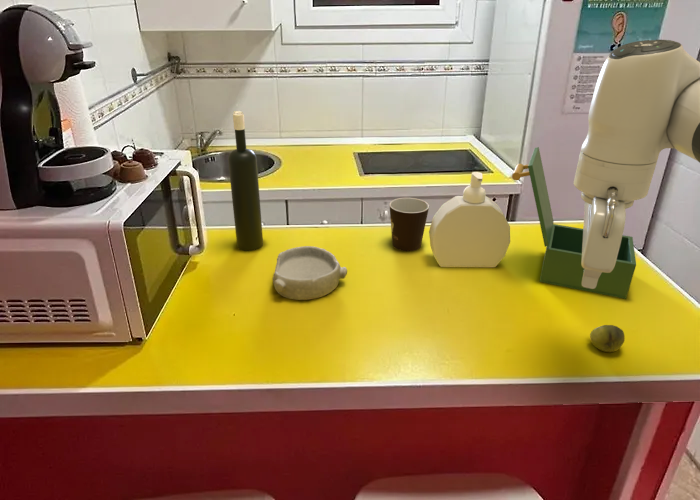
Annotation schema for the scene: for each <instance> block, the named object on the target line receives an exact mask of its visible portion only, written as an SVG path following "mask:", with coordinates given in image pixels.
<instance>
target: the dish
mask: <svg viewBox="0 0 700 500" xmlns="http://www.w3.org/2000/svg"><path fill="white" fill-rule="evenodd" d="M347 275H348V269H347V267H346V266H343V267H342V266H341V265H340V263H339V261H338V259H337V258H336V256H335V255H334V254H333V253H332V252H331V251H329V250H326V249H325V248H320V247H318V246H314V245H313V246H311V245H305V246H296V247H292V248H289V249H286V250H284V251H281V252H280V253H278V255H277V258H276V264H275V268H274V272H273V276H272V283H273V287H274V289H275V291H276V292H277V293H278V295H280V296H282V297H283V298H286V299H289V300H296V301H298V300H299V301H308V300H315V299H319V298H321V297H324V296H326V295H329V294H330V293H332V292H333V291H334V290H335V289H336V288H337V287H338V285H339V283H340V280H343V279H345V278H346V277H347Z"/></svg>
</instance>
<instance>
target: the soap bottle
mask: <svg viewBox="0 0 700 500" xmlns="http://www.w3.org/2000/svg"><path fill="white" fill-rule="evenodd" d="M483 179H484V178H483V172H480V171H472V172H471V176H470V184H469V185H466V187H465V188H464V189H463V192H462V195H455V196H453V197H452V198H450V199H449V200H447V201H446V202H444V203H442V205H441V206H440V207H439V209H438V210H437V211H436V213H435V214H434V215H433V217H432V220H431V223H430V227H429V230H428V235H429V236H428V237H429V244H430V249H431V252H432V255H433V257H434V259H435V261H436V262H437V264H438V266H439V267H441V268H496V267H497V266H498V265H499V264H500V262H502V261H503V259H504V258H505V257H506V255H507V252H508V249H509V246H510V244H511V226H510V223H509V222H508V220H507V218H506V216H505V214H504V212H503V211H502V209H501V207H500V206H499V205H498V204H497V203H496V202H494V201H493V200H492V199H491V198H490V197H488V196H486V195H487V194H486V192H487V191H486V190H485V188H484V187H482V182H483Z"/></svg>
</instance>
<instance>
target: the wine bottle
mask: <svg viewBox="0 0 700 500" xmlns="http://www.w3.org/2000/svg"><path fill="white" fill-rule="evenodd" d="M232 120H233V121H232V123H233V130H234V136H235V146H236V147H235V148H236V149H233V150H231V152H230V153H229V154H228V156H227V163H228V172H229V181H230V190H231V200H232V201H231V203H232V211H233V219H234V220H233V221H234V228H235V240H236V247H237V249H238V250H240V251H243V252H254V251H258V250H260V249H262V248H263V246H264V238H263V223H262V212H261V210H262V209H261V198H260V185H259V172H258V158H257V155H256V153H255V152H254V151H253V150H252V149H249V148H247V141H246V140H247V139H246V124H245V114H244V112H243V111H242V110H237V111H236V110H233V113H232Z"/></svg>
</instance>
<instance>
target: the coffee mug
mask: <svg viewBox="0 0 700 500" xmlns="http://www.w3.org/2000/svg"><path fill="white" fill-rule="evenodd" d="M388 206H389V217H390V218H389V219H390V232H391V243H392V247H393V248H394V249H396V250H398V251H402V252H415V251H418V250H420V248H421V247H422V242H423V238H424V235H425V234H424V233H425V229H426V223H427V219H428V214H429V209H430V204H429V203H428V202H427V201H425V200H423V199H419V198H416V197H400V198H395V199H393V200H391V201H390V202H389V205H388Z"/></svg>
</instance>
